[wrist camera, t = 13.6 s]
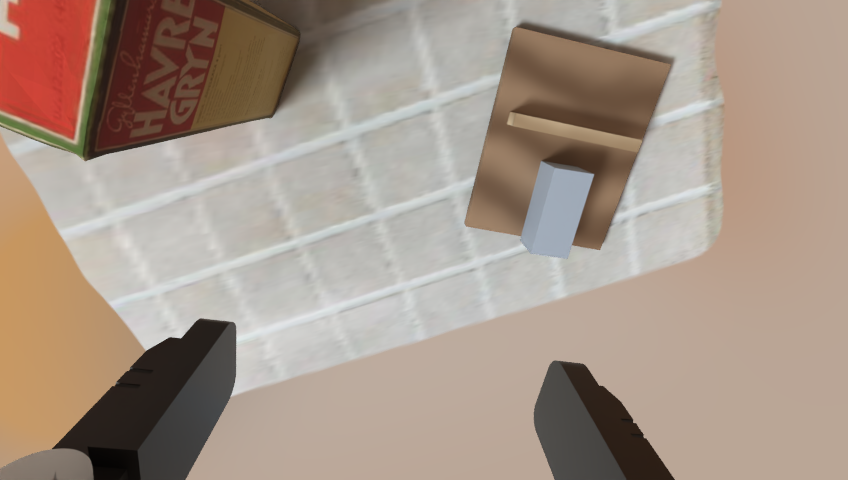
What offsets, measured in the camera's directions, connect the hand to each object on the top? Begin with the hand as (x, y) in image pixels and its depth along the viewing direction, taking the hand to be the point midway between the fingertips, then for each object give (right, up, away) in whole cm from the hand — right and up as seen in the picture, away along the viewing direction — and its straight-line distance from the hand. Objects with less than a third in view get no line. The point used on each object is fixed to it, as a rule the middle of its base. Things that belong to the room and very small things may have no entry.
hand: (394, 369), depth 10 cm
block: (+15, +11, +30) cm, 35 cm away
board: (+15, +13, +32) cm, 38 cm away
